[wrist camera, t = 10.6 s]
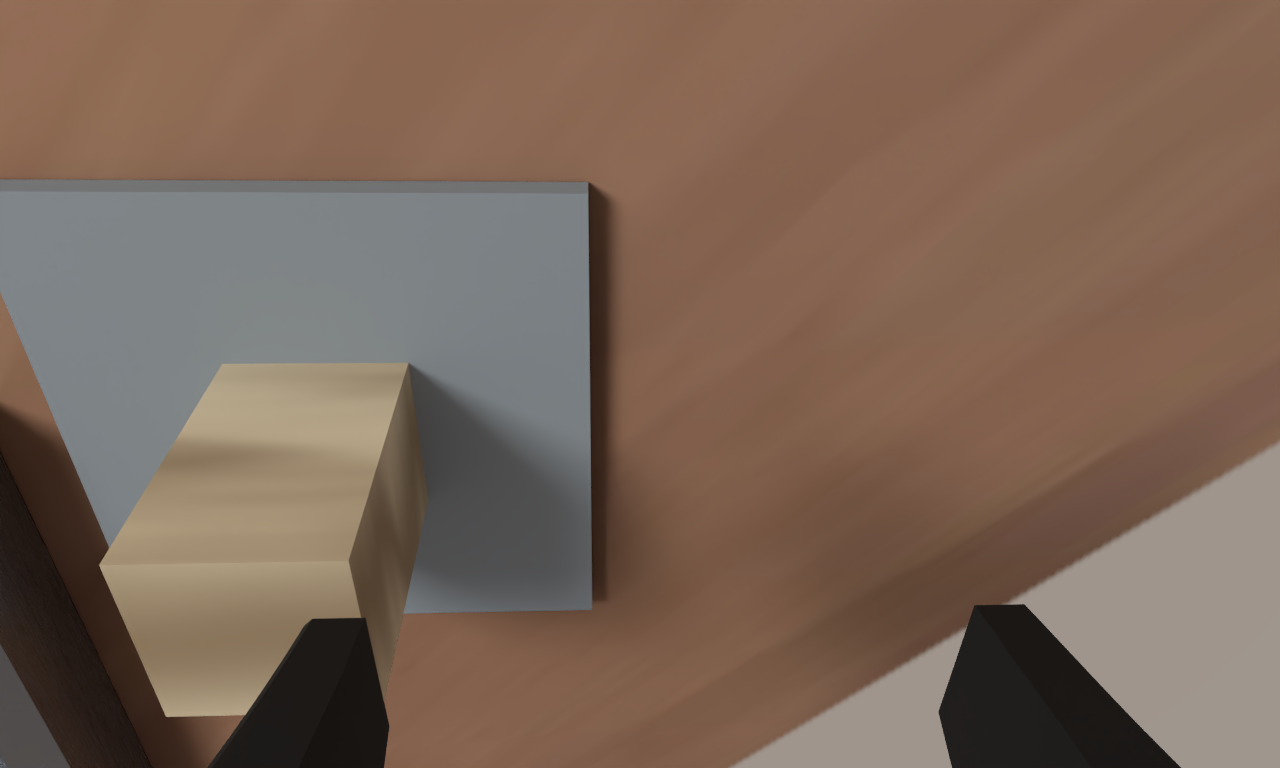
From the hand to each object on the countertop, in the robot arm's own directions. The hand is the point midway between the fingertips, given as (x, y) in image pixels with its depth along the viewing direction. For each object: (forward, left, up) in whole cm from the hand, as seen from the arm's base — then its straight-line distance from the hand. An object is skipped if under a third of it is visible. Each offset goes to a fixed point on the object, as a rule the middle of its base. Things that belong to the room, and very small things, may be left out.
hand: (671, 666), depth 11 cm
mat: (-4, +7, -10) cm, 13 cm away
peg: (-4, +7, -10) cm, 13 cm away
